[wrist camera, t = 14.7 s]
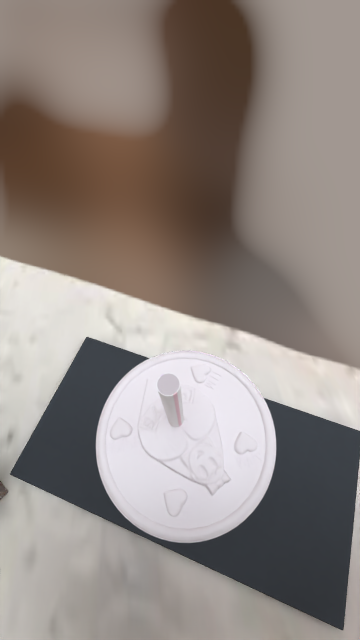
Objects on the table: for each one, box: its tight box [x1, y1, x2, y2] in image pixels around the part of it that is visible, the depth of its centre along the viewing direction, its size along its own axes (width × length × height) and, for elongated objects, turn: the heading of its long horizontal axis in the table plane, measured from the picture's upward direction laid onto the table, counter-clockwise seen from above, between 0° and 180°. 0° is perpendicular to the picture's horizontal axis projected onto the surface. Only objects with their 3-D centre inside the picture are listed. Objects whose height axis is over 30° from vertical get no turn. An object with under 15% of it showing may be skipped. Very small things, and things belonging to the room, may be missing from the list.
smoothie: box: [96, 350, 276, 543], centre depth 13 cm, size 6×6×14 cm
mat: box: [10, 337, 360, 630], centre depth 19 cm, size 20×10×1 cm, turn 70°
